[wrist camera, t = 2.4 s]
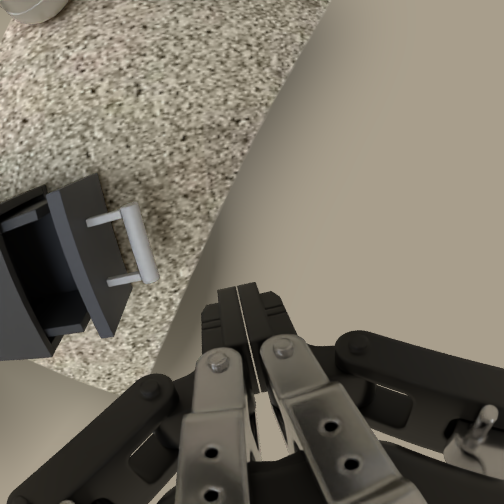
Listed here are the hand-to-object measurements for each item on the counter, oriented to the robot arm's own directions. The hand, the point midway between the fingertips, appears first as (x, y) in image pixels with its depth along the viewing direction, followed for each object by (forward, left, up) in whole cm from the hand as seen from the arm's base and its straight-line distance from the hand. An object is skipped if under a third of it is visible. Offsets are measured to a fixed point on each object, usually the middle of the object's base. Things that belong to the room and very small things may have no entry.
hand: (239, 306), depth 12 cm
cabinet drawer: (+10, -10, -16) cm, 21 cm away
